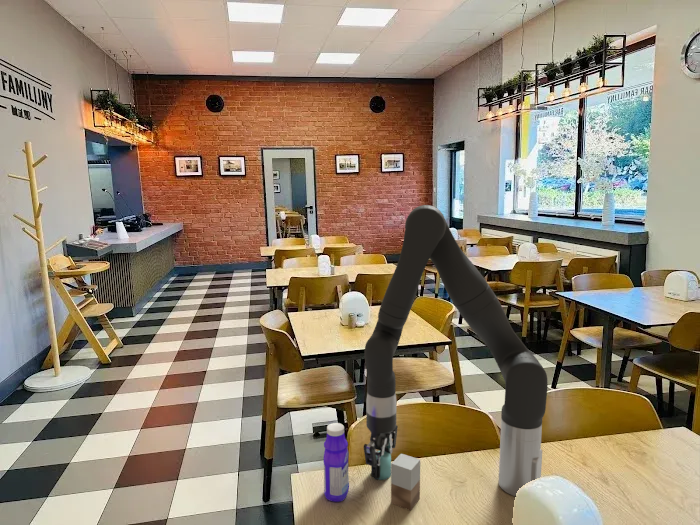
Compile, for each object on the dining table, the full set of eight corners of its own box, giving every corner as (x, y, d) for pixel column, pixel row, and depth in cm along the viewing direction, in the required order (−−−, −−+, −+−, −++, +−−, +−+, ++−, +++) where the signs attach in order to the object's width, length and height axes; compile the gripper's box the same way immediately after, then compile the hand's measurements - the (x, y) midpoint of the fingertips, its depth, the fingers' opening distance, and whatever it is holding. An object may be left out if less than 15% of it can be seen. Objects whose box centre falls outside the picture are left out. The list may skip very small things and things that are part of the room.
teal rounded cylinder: (394, 472, 124) (394, 454, 123) (385, 482, 120) (385, 463, 119) (377, 466, 126) (377, 448, 126) (367, 475, 122) (367, 457, 122)
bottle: (345, 505, 111) (344, 435, 108) (321, 502, 112) (319, 433, 109) (351, 486, 118) (350, 420, 115) (328, 484, 119) (327, 418, 116)
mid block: (420, 479, 112) (420, 459, 112) (410, 490, 108) (411, 470, 107) (400, 472, 115) (401, 453, 114) (391, 483, 111) (391, 463, 110)
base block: (419, 498, 113) (420, 479, 112) (410, 510, 109) (410, 490, 108) (400, 491, 116) (400, 472, 115) (391, 503, 112) (391, 483, 111)
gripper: (380, 425, 112) (380, 491, 115) (407, 402, 124) (406, 462, 127) (353, 417, 116) (354, 481, 119) (381, 395, 128) (381, 454, 131)
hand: (381, 471), depth 123 cm, fingers closed on teal rounded cylinder, 5 cm apart
